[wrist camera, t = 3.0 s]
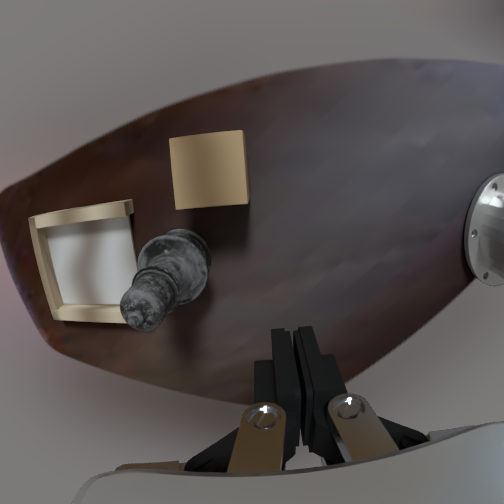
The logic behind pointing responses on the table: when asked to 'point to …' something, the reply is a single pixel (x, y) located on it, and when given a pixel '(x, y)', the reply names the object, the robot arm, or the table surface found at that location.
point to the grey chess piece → (166, 278)
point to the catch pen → (86, 260)
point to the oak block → (210, 169)
